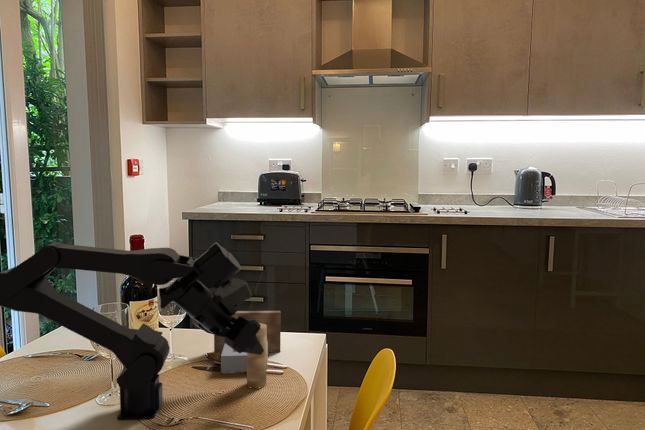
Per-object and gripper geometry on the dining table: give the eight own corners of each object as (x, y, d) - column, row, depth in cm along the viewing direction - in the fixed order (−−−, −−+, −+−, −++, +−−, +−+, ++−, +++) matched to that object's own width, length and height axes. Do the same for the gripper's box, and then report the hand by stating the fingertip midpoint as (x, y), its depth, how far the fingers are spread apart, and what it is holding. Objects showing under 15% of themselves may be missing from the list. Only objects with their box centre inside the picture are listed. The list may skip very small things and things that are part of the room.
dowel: (246, 389, 95) (246, 329, 94) (247, 380, 99) (247, 323, 98) (266, 388, 95) (266, 329, 94) (266, 379, 99) (266, 322, 98)
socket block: (221, 373, 102) (221, 355, 101) (226, 355, 112) (226, 339, 111) (266, 372, 103) (267, 355, 102) (267, 354, 113) (268, 338, 112)
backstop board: (214, 353, 113) (214, 313, 112) (215, 350, 114) (214, 311, 113) (280, 352, 114) (280, 312, 113) (280, 349, 116) (280, 310, 115)
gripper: (251, 277, 83) (300, 324, 91) (204, 260, 97) (250, 302, 105) (210, 329, 78) (265, 374, 87) (168, 303, 93) (219, 344, 101)
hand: (250, 345), depth 95 cm, fingers open, 9 cm apart
